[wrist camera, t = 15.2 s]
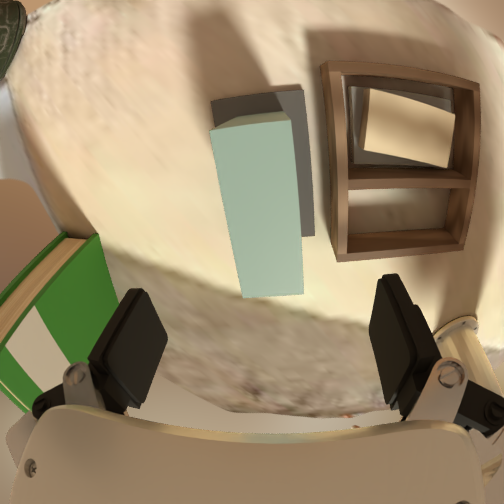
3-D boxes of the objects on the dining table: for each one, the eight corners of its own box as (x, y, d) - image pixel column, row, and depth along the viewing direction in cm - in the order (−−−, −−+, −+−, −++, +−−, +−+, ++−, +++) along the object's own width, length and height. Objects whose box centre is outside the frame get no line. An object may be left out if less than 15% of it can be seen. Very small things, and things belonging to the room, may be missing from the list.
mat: (314, 233, 31) (314, 235, 30) (237, 239, 32) (236, 242, 32) (302, 90, 23) (303, 89, 22) (211, 101, 24) (210, 101, 23)
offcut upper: (437, 163, 23) (446, 168, 22) (358, 146, 24) (364, 150, 22) (445, 112, 20) (455, 114, 18) (363, 88, 21) (370, 88, 19)
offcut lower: (439, 163, 25) (448, 168, 23) (349, 159, 27) (354, 164, 25) (441, 98, 21) (450, 100, 19) (346, 86, 22) (351, 86, 21)
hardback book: (62, 231, 34) (-39, 344, 13) (98, 233, 33) (-10, 368, 13) (93, 315, 43) (35, 422, 23) (126, 323, 43) (71, 442, 22)
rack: (448, 234, 29) (463, 250, 26) (331, 243, 31) (337, 262, 28) (458, 81, 19) (479, 83, 15) (319, 66, 21) (327, 60, 18)
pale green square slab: (283, 111, 23) (290, 120, 13) (294, 221, 30) (303, 294, 20) (237, 116, 24) (209, 130, 14) (254, 225, 30) (242, 298, 20)
